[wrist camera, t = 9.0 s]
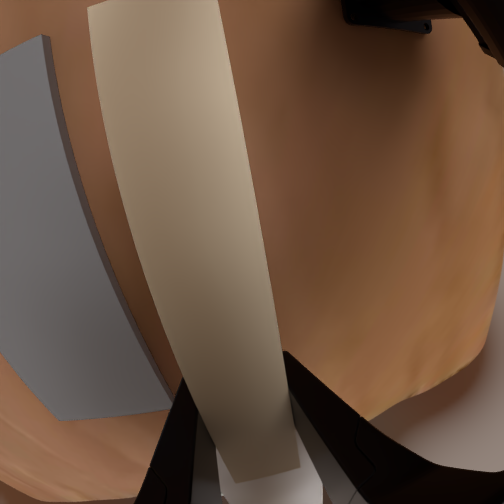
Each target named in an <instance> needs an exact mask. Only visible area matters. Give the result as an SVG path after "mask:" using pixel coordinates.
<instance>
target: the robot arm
mask: <svg viewBox="0 0 504 504" xmlns="http://www.w3.org/2000/svg"><path fill="white" fill-rule="evenodd" d="M341 3H342V9H343V16H344V20H345V21H346V22H347V23H348V24H349V25H355V26H368V27H378V28H387V29H395V30H403V31H409V32H416V33H421V34H429V33H431V31H432V25H431V20H432V19H447V18H463V19H464V21H465V22H466V23H467V25H468V26H469V28H470V29H471V31H472V32H473V34H474V35H475V37H476V38H477V40H478V41H479V46H480V47H481V49H482V51H483V52H484V53H485V54H487V55H489V56H491V57H493V58H495V59H496V60H497V62H498V63H499V65H501V66H502V67H504V0H341ZM351 14H353V15H354V16H355V20H353V19H352V18H351ZM424 25H425V28H424ZM282 353H283V359H284V365H285V372H286V378H287V384H288V390H289V396H290V402H291V408H292V415H293V421H294V426H295V428H296V430H297V432H298V434H299V436H300V438H301V440H302V442H303V445H304V447H305V449H306V451H307V453H308V455H309V457H310V459H311V461H312V463H313V465H314V467H315V469H316V471H317V473H318V475H319V477H320V479H321V481H322V483H323V485H324V487H325V489H326V491H327V493H328V495H329V497H330V499H331V501H332V503H333V504H504V470H503V471H500V472H483V471H474V470H466V469H459V468H453V467H446V466H442V465H438V464H435V463H432V462H430V461H428V460H426V459H424V458H422V457H421V456H419V455H417V454H416V453H414V452H412V451H411V450H409V449H407V448H406V447H404V446H402V445H401V444H399V443H397V442H396V441H394V440H393V439H391V438H389V437H388V436H386V435H385V434H383V433H382V432H381V431H379V430H378V429H377V428H375V427H374V426H373V425H372V424H370V423H369V422H368V421H367V420H366V419H364V418H363V417H360V415H359V414H358V413H357V412H356V411H355V410H354V409H352V408H351V407H350V406H349V405H348V404H347V403H345V402H344V401H343V400H342V399H341V398H340V397H338V396H337V395H336V394H335V393H334V392H333V391H332V390H330V389H329V388H328V387H327V386H326V385H325V384H324V383H322V382H321V381H320V380H319V379H318V378H317V377H316V376H314V375H313V374H312V373H311V372H310V371H309V370H308V369H307V368H305V367H304V366H303V365H302V364H301V363H300V362H299V361H298V360H297V359H295V358H294V357H293V356H292V355H291V354H290V353H289V352H287V351H282ZM134 504H222V498H221V489H220V481H219V473H218V464H217V455H216V446H215V444H214V442H213V440H212V438H211V436H210V434H209V432H208V430H207V428H206V426H205V424H204V421H203V419H202V417H201V415H200V413H199V410H198V409H197V406H196V404H195V402H194V400H193V398H192V395H191V393H190V391H189V389H188V386H187V384H186V382H185V380H184V377H183V378H182V380H181V383H180V385H179V388H178V391H177V393H176V396H175V398H174V401H173V404H172V406H171V409H170V412H169V414H168V417H167V420H166V422H165V425H164V428H163V430H162V433H161V436H160V439H159V441H158V444H157V447H156V449H155V452H154V455H153V458H152V460H151V463H150V467H149V468H148V471H147V474H146V477H145V479H144V482H143V484H142V487H141V489H140V491H139V494H138V496H137V498H136V500H135V502H134Z"/></svg>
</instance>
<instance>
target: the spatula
mask: <svg viewBox="0 0 504 504" xmlns="http://www.w3.org/2000/svg"><path fill="white" fill-rule="evenodd" d="M87 9H88V20H89V30H90V39H91V47H92V55H93V62H94V69H95V76H96V82H97V88H98V94H99V100H100V105H101V110H102V116H103V121H104V126H105V131H106V135H107V140H108V145H109V149H110V154H111V158H112V162H113V166H114V170H115V175H116V179H117V183H118V186H119V190H120V194H121V198H122V202H123V205H124V209H125V213H126V216H127V220H128V223H129V227H130V230H131V233H132V237H133V240H134V243H135V247H136V250H137V253H138V256H139V259H140V262H141V265H142V268H143V272H144V275H145V278H146V280H147V283H148V286H149V289H150V292H151V295H152V298H153V301H154V303H155V306H156V309H157V312H158V314H159V317H160V320H161V322H162V325H163V328H164V330H165V333H166V336H167V338H168V341H169V343H170V346H171V348H172V351H173V353H174V356H175V358H176V361H177V363H178V365H179V368H180V370H181V372H182V375H183V377H184V380H185V382H186V384H187V386H188V389H189V391H190V393H191V395H192V398H193V400H194V402H195V404H196V406H197V409H198V410H199V413H200V415H201V417H202V419H203V421H204V424H205V426H206V428H207V430H208V432H209V434H210V436H211V438H212V440H213V442H214V444H215V446H216V455H217V464H218V473H219V481H220V489H221V492H222V494H223V495H224V497H225V498H226V500H227V501H228V502H229V504H323V490H322V481H321V479H320V477H319V475H318V473H317V471H316V469H315V467H314V465H313V463H312V461H311V459H310V457H309V455H308V453H307V451H306V449H305V447H304V445H303V442H302V440H301V438H300V436H299V434H298V432H297V430H296V428H295V426H294V421H293V415H292V408H291V402H290V396H289V390H288V384H287V378H286V372H285V365H284V359H283V353H282V347H281V342H280V336H279V330H278V324H277V318H276V312H275V306H274V300H273V295H272V289H271V283H270V277H269V271H268V266H267V260H266V254H265V249H264V243H263V237H262V232H261V226H260V221H259V215H258V210H257V204H256V198H255V193H254V187H253V182H252V177H251V171H250V166H249V160H248V155H247V150H246V144H245V139H244V134H243V128H242V123H241V118H240V112H239V107H238V102H237V97H236V91H235V86H234V81H233V76H232V71H231V66H230V61H229V55H228V50H227V45H226V40H225V35H224V30H223V25H222V20H221V15H220V10H219V5H218V0H108V1H105V2H102V3H99V4H96V5H93V6H90V7H88V8H87Z"/></svg>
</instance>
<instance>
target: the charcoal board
mask: <svg viewBox="0 0 504 504" xmlns="http://www.w3.org/2000/svg"><path fill="white" fill-rule="evenodd" d="M0 352H1V354H2V355H3V356H4V358H5V359H6V360H7V362H8V363H9V364H10V365H11V367H12V368H13V369H14V371H15V372H16V373H17V374H18V376H19V377H20V378H21V379H22V380H23V382H24V383H25V384H26V385H27V386H28V388H29V389H30V390H31V391H32V392H33V393H34V394H35V396H36V397H37V398H38V399H39V400H40V401H41V402H42V403H43V404H44V406H45V407H46V408H47V409H48V410H49V411H50V412H51V413H52V414H53V415H54V416H55V417H56V418H57V419H58V420H59V421H68V420H84V419H96V418H107V417H116V416H125V415H133V414H141V413H148V412H155V411H161V410H167V409H171V406H172V404H173V401H174V396H173V394H172V392H171V391H170V389H169V387H168V385H167V383H166V382H165V380H164V378H163V376H162V374H161V372H160V370H159V369H158V367H157V365H156V363H155V361H154V359H153V357H152V355H151V353H150V351H149V349H148V347H147V345H146V343H145V341H144V339H143V337H142V335H141V333H140V331H139V329H138V327H137V324H136V322H135V320H134V318H133V316H132V314H131V311H130V309H129V307H128V305H127V303H126V300H125V298H124V296H123V293H122V291H121V289H120V286H119V284H118V282H117V279H116V277H115V274H114V272H113V269H112V267H111V265H110V262H109V259H108V257H107V254H106V252H105V249H104V246H103V244H102V241H101V238H100V236H99V233H98V230H97V227H96V225H95V222H94V219H93V216H92V213H91V210H90V207H89V204H88V201H87V198H86V195H85V192H84V189H83V185H82V182H81V179H80V175H79V172H78V169H77V165H76V162H75V158H74V154H73V151H72V147H71V143H70V139H69V135H68V131H67V127H66V123H65V119H64V114H63V110H62V105H61V101H60V96H59V91H58V86H57V80H56V75H55V69H54V63H53V56H52V50H51V43H50V37H49V36H46V35H42V34H41V35H39V36H36V37H34V38H32V39H30V40H28V41H26V42H24V43H22V44H20V45H18V46H16V47H14V48H12V49H10V50H8V51H6V52H4V53H3V54H1V55H0Z"/></svg>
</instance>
